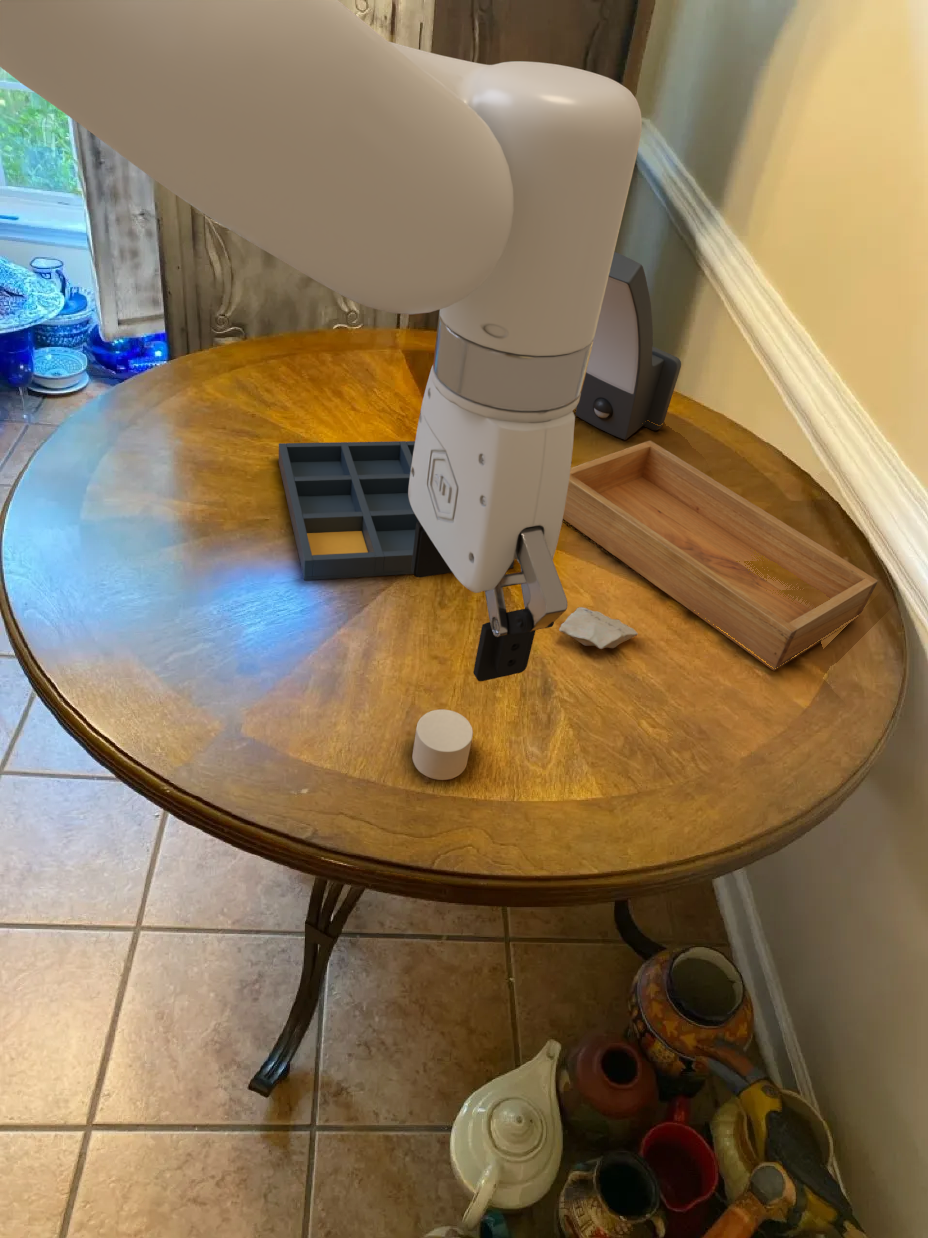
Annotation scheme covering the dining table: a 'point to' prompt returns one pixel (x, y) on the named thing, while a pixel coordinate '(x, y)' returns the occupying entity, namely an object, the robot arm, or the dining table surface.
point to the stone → (596, 629)
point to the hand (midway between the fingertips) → (465, 619)
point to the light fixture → (626, 359)
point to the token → (442, 744)
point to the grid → (350, 507)
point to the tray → (712, 550)
